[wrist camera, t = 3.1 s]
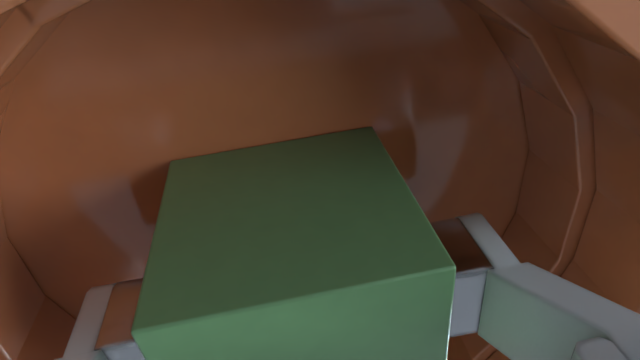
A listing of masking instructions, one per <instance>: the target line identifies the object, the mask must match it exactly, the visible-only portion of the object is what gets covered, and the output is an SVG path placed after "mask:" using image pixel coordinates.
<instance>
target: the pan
mask: <svg viewBox="0 0 640 360" xmlns="http://www.w3.org/2000/svg"><path fill="white" fill-rule="evenodd" d="M365 127H373V129H374V131H375V132H376V134H377V136H378V137H379V139H380V141H381V142H382V144H383V146H384V147H385V149H386V151H387V152H388V154H389V156H390V157H391V159H392V161H393V162H394V164H395V166H396V167H397V169H398V171H399V172H400V174H401V176H402V177H403V179H404V181H405V182H406V184H407V186H408V187H409V189H410V191H411V192H412V194H413V196H414V197H415V199H416V201H417V202H418V204H419V206H420V207H421V209H422V211H423V212H424V214H425V216H426V217H427V219H428V221H429V222H435V221H440V220H445V219H450V218H455V217H458V216H463V215H468V214H472V213H477V212H478V213H480V214H482V215H483V216H484V218H485V219H486V220H487V221H488V223H489V224H490V225H491V226H492V228H493V229H494V230H495V231H496V233H497V234H498V235H499V236H500V238H501V239H502V240H503V241H504V243H505V244H506V245H507V246H508V248H509V249H510V250H511V251H512V253H513V254H514V255H515V256H516V258H517V259H518V260H519V262H520V263H526V262H529V263H531V264H533V265H535V266H537V267H540V268H542V269H544V270H546V271H548V272H550V273H552V274H555V275H557V276H559V277H561V278H563V279H565V280H567V281H570V282H572V283H574V284H576V285H578V286H580V287H582V288H585V289H587V290H589V291H591V292H593V293H595V294H597V295H600V296H602V297H604V298H606V299H608V300H610V301H612V302H615V303H617V304H619V305H621V306H623V307H625V308H627V309H630V310H632V311H634V312H636V313H638V314H640V0H0V360H54V359H58V358H62V357H63V354H64V352H65V349H66V346H67V343H68V341H69V338H70V335H71V333H72V330H73V327H74V325H75V322H76V319H77V316H78V314H79V311H80V308H81V306H82V303H83V300H84V298H85V295H86V293H87V292H88V291H89V290H90V289H91V288H92V287H95V286H101V285H107V284H113V283H117V282H122V281H127V280H133V279H139V278H143V277H144V272H145V268H146V264H147V260H148V255H149V251H150V247H151V242H152V238H153V234H154V229H155V225H156V221H157V217H158V212H159V208H160V204H161V199H162V195H163V191H164V186H165V182H166V178H167V173H168V169H169V165H170V162H171V161H174V160H180V159H185V158H191V157H197V156H203V155H209V154H214V153H220V152H226V151H232V150H237V149H243V148H249V147H255V146H261V145H266V144H272V143H278V142H284V141H290V140H295V139H301V138H307V137H313V136H319V135H324V134H330V133H336V132H342V131H347V130H353V129H359V128H365ZM447 360H511V359H509V358H508V357H507V356H505V355H504V354H503V353H501V352H500V351H499V350H497V349H496V348H495V347H494V346H492V345H491V344H490V343H488V342H487V341H486V340H484V339H483V338H482V337H480V336H479V335H478V332H477V333H472V334H466V335H461V336H456V337H450V338H449V346H448V356H447Z"/></svg>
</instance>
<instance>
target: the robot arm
mask: <svg viewBox="0 0 640 360" xmlns="http://www.w3.org/2000/svg"><path fill="white" fill-rule="evenodd" d="M430 224H431V226H432V227H433V229H434V231H435V232H436V234H437V235H438V237H439V239H440V240H441V242H442V244H443V245H444V247H445V249H446V250H447V252H448V254H449V255H450V257H451V259H452V260H453V262H454V264H455V265H456V276H455V286H454V296H453V306H452V316H451V326H450V336H449V338H450V337H456V336H461V335H466V334H472V333H477V332H478V335H479V336H480V337H482V338H483V339H484V340H486V341H487V342H488V343H490V344H491V345H492V346H494V347H495V348H496V349H497V350H499V351H500V352H501V353H503V354H504V355H505V356H507V357H508V358H509V359H511V360H640V314H638V313H636V312H634V311H632V310H630V309H627V308H625V307H623V306H621V305H619V304H617V303H615V302H612V301H610V300H608V299H606V298H604V297H602V296H600V295H597V294H595V293H593V292H591V291H589V290H587V289H585V288H582V287H580V286H578V285H576V284H574V283H572V282H570V281H567V280H565V279H563V278H561V277H559V276H557V275H555V274H552V273H550V272H548V271H546V270H544V269H542V268H540V267H537V266H535V265H533V264H531V263H529V262H526V263H520V262H519V260H518V259H517V258H516V256H515V255H514V254H513V253H512V251H511V250H510V249H509V248H508V246H507V245H506V244H505V243H504V241H503V240H502V239H501V238H500V236H499V235H498V234H497V233H496V231H495V230H494V229H493V228H492V226H491V225H490V224H489V223H488V221H487V220H486V219H485V218H484V216H483V215H482V214H480V213H478V212H477V213H472V214H468V215H463V216H458V217H455V218H450V219H445V220H440V221H435V222H430ZM142 281H143V278H139V279H133V280H127V281H122V282H117V283H113V284H107V285H101V286H95V287H92V288H91V289H90V290H89V291H88V292H87V293H86V295H85V298H84V300H83V303H82V306H81V308H80V311H79V314H78V316H77V319H76V322H75V325H74V327H73V330H72V333H71V335H70V338H69V341H68V343H67V346H66V349H65V352H64V354H63V357H62V358H58V359H54V360H145V359H144V357H143V355H142V353H141V351H140V350H139V348H138V346H137V344H136V342H135V340H134V339H133V337H132V335H131V328H132V324H133V320H134V316H135V311H136V307H137V303H138V298H139V294H140V290H141V285H142Z"/></svg>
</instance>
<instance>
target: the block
mask: <svg viewBox="0 0 640 360" xmlns="http://www.w3.org/2000/svg"><path fill="white" fill-rule="evenodd" d="M455 276H456V265H455V264H454V262H453V260H452V259H451V257H450V255H449V254H448V252H447V250H446V249H445V247H444V245H443V244H442V242H441V240H440V239H439V237H438V235H437V234H436V232H435V231H434V229H433V227H432V226H431V224H430V222H429V221H428V219H427V217H426V216H425V214H424V212H423V211H422V209H421V207H420V206H419V204H418V202H417V201H416V199H415V197H414V196H413V194H412V192H411V191H410V189H409V187H408V186H407V184H406V182H405V181H404V179H403V177H402V176H401V174H400V172H399V171H398V169H397V167H396V166H395V164H394V162H393V161H392V159H391V157H390V156H389V154H388V152H387V151H386V149H385V147H384V146H383V144H382V142H381V141H380V139H379V137H378V136H377V134H376V132H375V131H374V129H373V127H365V128H359V129H353V130H347V131H342V132H336V133H330V134H324V135H319V136H313V137H307V138H301V139H295V140H290V141H284V142H278V143H272V144H266V145H261V146H255V147H249V148H243V149H237V150H232V151H226V152H220V153H214V154H209V155H203V156H197V157H191V158H185V159H180V160H174V161H171V162H170V165H169V169H168V173H167V178H166V182H165V186H164V191H163V195H162V199H161V204H160V208H159V212H158V217H157V221H156V225H155V229H154V234H153V238H152V242H151V247H150V251H149V255H148V260H147V264H146V268H145V272H144V277H143V281H142V285H141V290H140V294H139V298H138V303H137V307H136V311H135V316H134V320H133V324H132V328H131V335H132V337H133V339H134V340H135V342H136V344H137V346H138V348H139V350H140V351H141V353H142V355H143V357H144V359H145V360H447V356H448V346H449V336H450V326H451V316H452V306H453V296H454V286H455Z"/></svg>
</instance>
